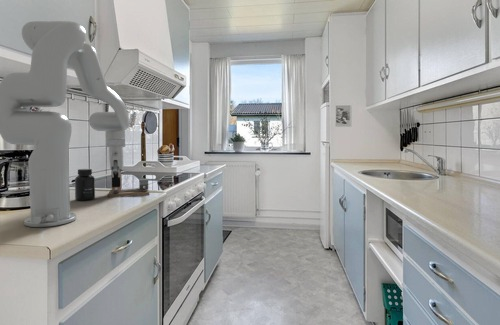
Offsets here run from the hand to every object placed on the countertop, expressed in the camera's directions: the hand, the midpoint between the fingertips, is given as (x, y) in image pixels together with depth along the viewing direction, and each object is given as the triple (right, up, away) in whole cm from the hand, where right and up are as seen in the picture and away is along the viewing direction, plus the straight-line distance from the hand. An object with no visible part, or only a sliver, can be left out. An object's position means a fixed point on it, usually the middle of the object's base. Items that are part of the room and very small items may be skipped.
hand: (116, 185), depth 127 cm
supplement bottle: (-8, -5, -10) cm, 14 cm away
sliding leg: (0, -2, -1) cm, 2 cm away
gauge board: (+5, -4, +2) cm, 6 cm away
